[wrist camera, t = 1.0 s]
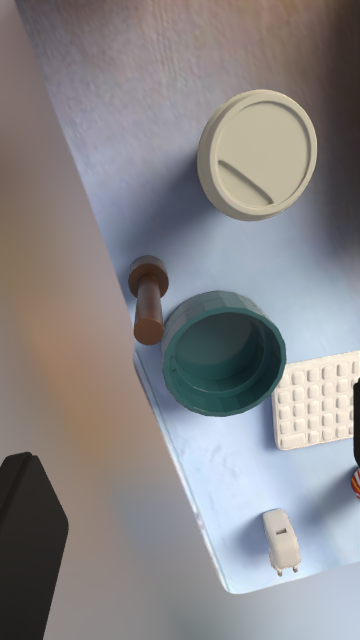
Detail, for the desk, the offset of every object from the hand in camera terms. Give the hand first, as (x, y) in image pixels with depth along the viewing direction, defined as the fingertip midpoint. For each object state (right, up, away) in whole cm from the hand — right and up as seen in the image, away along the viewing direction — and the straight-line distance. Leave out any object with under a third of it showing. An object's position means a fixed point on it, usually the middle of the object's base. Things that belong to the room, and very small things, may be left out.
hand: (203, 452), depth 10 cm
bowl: (+4, +1, +31) cm, 31 cm away
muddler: (-4, +9, +27) cm, 29 cm away
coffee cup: (+4, +19, +24) cm, 31 cm away
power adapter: (+15, -31, +45) cm, 57 cm away
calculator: (+22, -6, +36) cm, 42 cm away
